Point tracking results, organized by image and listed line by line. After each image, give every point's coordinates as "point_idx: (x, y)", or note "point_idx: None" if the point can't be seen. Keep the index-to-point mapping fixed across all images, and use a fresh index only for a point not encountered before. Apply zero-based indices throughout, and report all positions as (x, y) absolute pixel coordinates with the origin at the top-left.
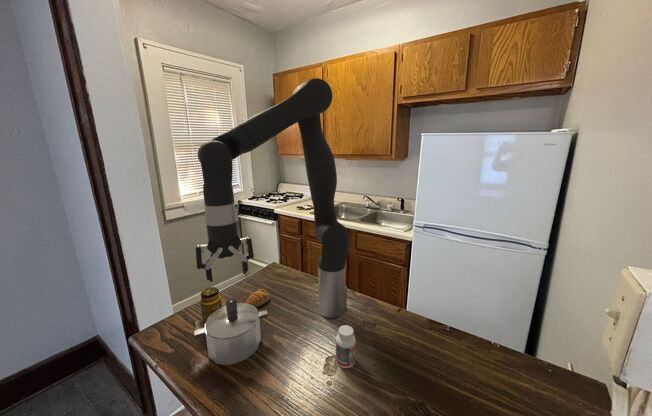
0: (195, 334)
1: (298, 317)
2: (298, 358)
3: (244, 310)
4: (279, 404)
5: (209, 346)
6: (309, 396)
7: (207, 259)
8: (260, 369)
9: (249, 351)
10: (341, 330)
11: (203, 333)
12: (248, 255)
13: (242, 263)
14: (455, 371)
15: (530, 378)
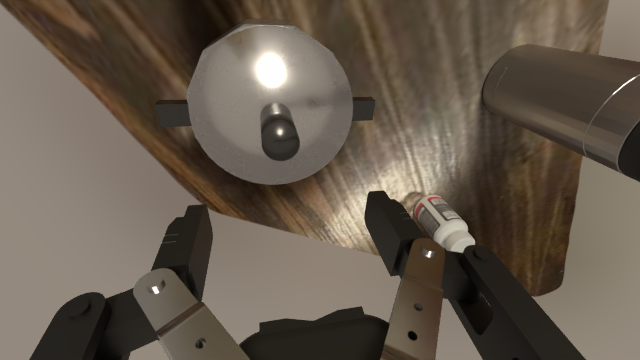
0: (163, 124)
1: (438, 67)
2: (373, 179)
3: (316, 94)
4: (316, 233)
5: None
6: (354, 234)
7: (150, 323)
8: None
9: None
10: (456, 246)
11: (188, 124)
12: (451, 298)
13: (388, 270)
14: (505, 252)
15: (539, 272)
